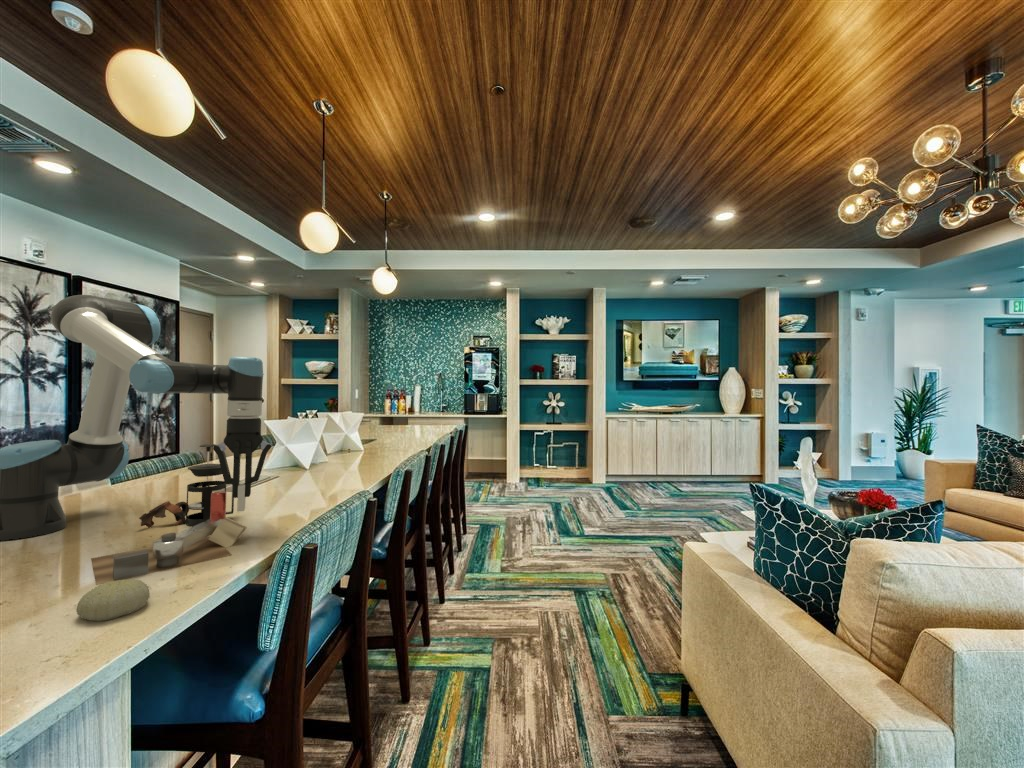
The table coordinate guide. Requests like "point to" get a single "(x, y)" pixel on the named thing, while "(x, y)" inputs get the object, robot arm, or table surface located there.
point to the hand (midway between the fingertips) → (241, 509)
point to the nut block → (227, 532)
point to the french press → (204, 490)
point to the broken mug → (160, 513)
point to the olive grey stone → (113, 600)
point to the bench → (153, 560)
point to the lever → (193, 530)
